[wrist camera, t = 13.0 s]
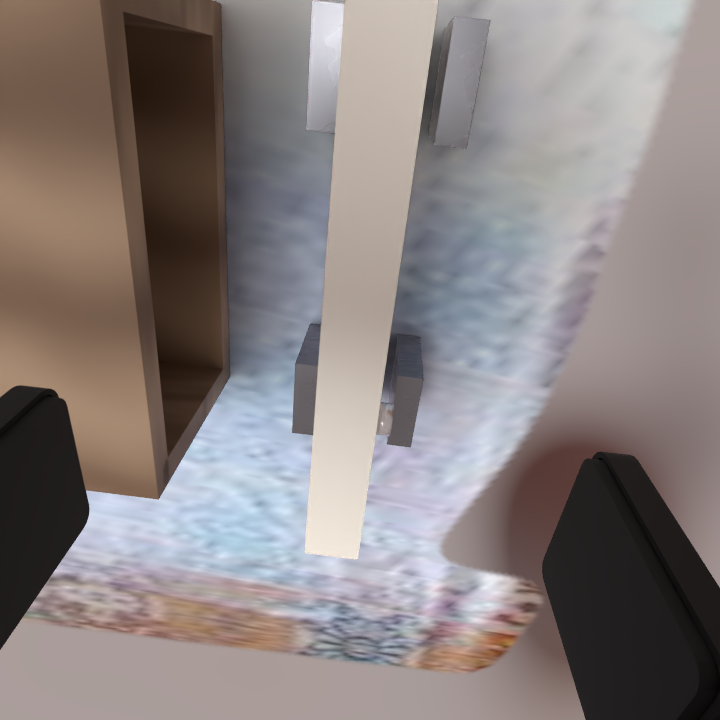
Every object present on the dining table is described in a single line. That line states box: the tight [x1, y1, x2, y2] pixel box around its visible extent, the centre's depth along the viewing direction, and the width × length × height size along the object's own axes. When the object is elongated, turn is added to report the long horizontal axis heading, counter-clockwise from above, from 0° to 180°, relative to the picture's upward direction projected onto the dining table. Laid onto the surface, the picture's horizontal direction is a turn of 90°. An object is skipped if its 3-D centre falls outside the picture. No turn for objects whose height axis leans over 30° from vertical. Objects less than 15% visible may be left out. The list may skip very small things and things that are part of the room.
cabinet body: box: [0, 0, 230, 499], centre depth 21 cm, size 18×8×10 cm, turn 174°
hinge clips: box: [292, 0, 490, 447], centre depth 23 cm, size 18×6×4 cm, turn 174°
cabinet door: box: [305, 0, 439, 560], centre depth 20 cm, size 18×3×12 cm, turn 174°
